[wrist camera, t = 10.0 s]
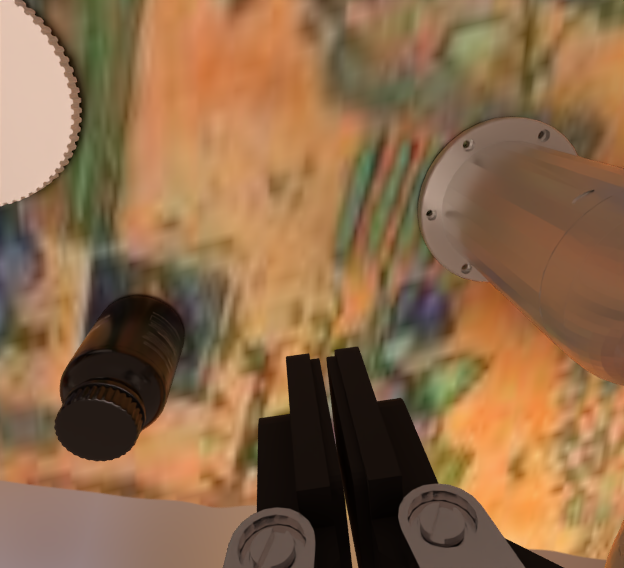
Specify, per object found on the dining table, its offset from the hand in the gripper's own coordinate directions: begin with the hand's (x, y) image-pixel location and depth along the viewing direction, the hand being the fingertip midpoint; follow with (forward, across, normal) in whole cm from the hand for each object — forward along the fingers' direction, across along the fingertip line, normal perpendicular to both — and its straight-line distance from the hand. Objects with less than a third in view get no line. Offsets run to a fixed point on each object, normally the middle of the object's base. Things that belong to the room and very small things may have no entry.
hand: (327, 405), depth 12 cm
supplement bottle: (+27, +13, +11) cm, 32 cm away
